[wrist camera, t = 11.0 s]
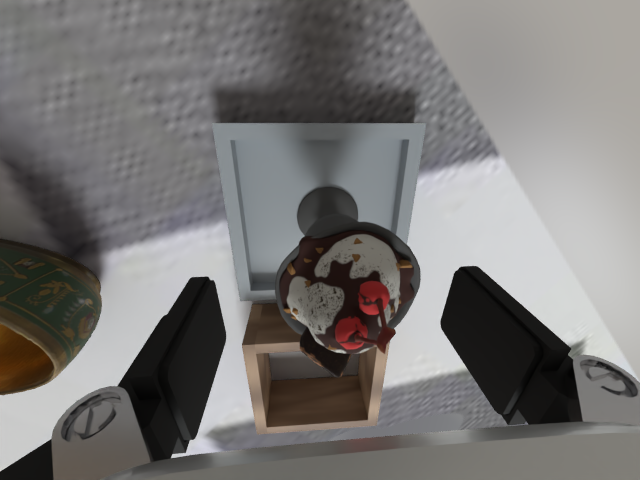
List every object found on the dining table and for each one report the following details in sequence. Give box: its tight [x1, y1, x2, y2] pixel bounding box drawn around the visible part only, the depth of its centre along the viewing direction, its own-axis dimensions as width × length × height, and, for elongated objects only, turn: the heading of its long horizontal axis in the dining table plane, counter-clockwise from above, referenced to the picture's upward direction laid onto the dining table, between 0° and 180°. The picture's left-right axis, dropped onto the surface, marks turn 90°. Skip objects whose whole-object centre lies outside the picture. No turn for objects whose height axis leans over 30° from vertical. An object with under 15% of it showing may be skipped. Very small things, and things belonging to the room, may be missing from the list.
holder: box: [242, 303, 390, 434], centre depth 26 cm, size 12×12×5 cm
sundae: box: [275, 187, 420, 377], centre depth 14 cm, size 7×7×15 cm
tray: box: [212, 123, 426, 301], centre depth 21 cm, size 14×14×2 cm
